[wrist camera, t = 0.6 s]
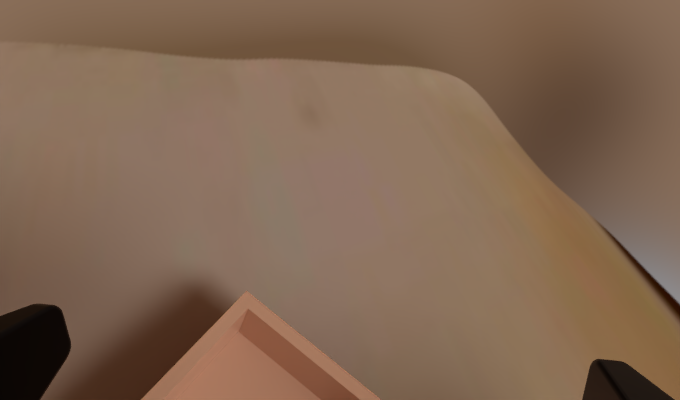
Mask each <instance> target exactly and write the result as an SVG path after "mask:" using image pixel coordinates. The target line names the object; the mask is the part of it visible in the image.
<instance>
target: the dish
mask: <svg viewBox="0 0 680 400" xmlns="http://www.w3.org/2000/svg"><path fill="white" fill-rule="evenodd" d="M141 400H381V399H380V398H378V397H377V396H376V395H375V394H373V393H372V392H371V391H370V390H368V389H367V388H366V387H365V386H364V385H362V384H361V383H360V382H359V381H357V380H356V379H355V378H354V377H352V376H351V375H350V374H349V373H347V372H346V371H345V370H344V369H343V368H341V367H340V366H339V365H338V364H336V363H335V362H334V361H333V360H331V359H330V358H329V357H328V356H326V355H325V354H324V353H323V352H322V351H320V350H319V349H318V348H317V347H315V346H314V345H313V344H312V343H310V342H309V341H308V340H307V339H305V338H304V337H303V336H302V335H301V334H299V333H298V332H297V331H296V330H294V329H293V328H292V327H291V326H289V325H288V324H287V323H286V322H284V321H283V320H282V319H281V318H279V317H278V316H277V315H276V314H275V313H273V312H272V311H271V310H270V309H268V308H267V307H266V306H265V305H263V304H262V303H261V302H260V301H258V300H257V299H256V298H255V297H254V296H252V295H251V294H250V293H249V292H247V291H246V292H245V293H244V294H243V295H242V296H241V297H240V298H239V299H238V300H237V301H236V302H235V303H234V304H233V305H232V306H231V307H230V308H229V309H228V310H227V311H226V312H225V313H224V314H223V316H222V317H221V318H220V319H219V320H218V321H217V322H216V323H215V324H214V325H213V326H212V327H211V328H210V329H209V330H208V331H207V332H206V333H205V334H204V335H203V336H202V337H201V338H200V339H199V340H198V341H197V342H196V343H195V344H194V345H193V346H192V348H191V349H190V350H189V351H188V352H187V353H186V354H185V355H184V356H183V357H182V358H181V359H180V360H179V361H178V362H177V363H176V364H175V365H174V366H173V367H172V368H171V369H170V370H169V371H168V372H167V373H166V374H165V375H164V376H163V377H162V378H161V380H160V381H159V382H158V383H157V384H156V385H155V386H154V387H153V388H152V389H151V390H150V391H149V392H148V393H147V394H146V395H145V396H144V397H143V398H142V399H141Z"/></svg>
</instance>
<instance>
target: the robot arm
mask: <svg viewBox="0 0 680 400" xmlns="http://www.w3.org/2000/svg"><path fill="white" fill-rule="evenodd" d="M70 348H71V341H70V337H69V333H68V330H67V326H66V323H65V319H64V315H63V312H62V310H61V309H60V308H59V307H58V306H55V305H48V304H33V305H30V306H27V307H24V308H21V309H18V310H16V311H13V312H10V313H7V314H5V315H2V316H0V400H40V399H41V397H42V396H43V394H44V393H45V391H46V390H47V388H48V387H49V385H50V383H51V382H52V380H53V379H54V377H55V376H56V374H57V373H58V371H59V369H60V368H61V366H62V365H63V363H64V362H65V360H66V359H67V357H68V355H69V352H70ZM582 400H674V399H673V398H672V397H670V396H669V395H668V394H666V393H665V392H664V391H662V390H661V389H660V388H658V387H657V386H656V385H654V384H653V383H652V382H650V381H649V380H648V379H646V378H645V377H644V376H643V375H641V374H640V373H639V372H637V371H636V370H635V369H633V368H632V367H631V366H629V365H628V364H626V363H624V362H622V361H614V360H604V359H596V360H594V361H593V362H592V364H591V365H590V369H589V373H588V377H587V381H586V386H585V390H584V394H583V399H582Z"/></svg>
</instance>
